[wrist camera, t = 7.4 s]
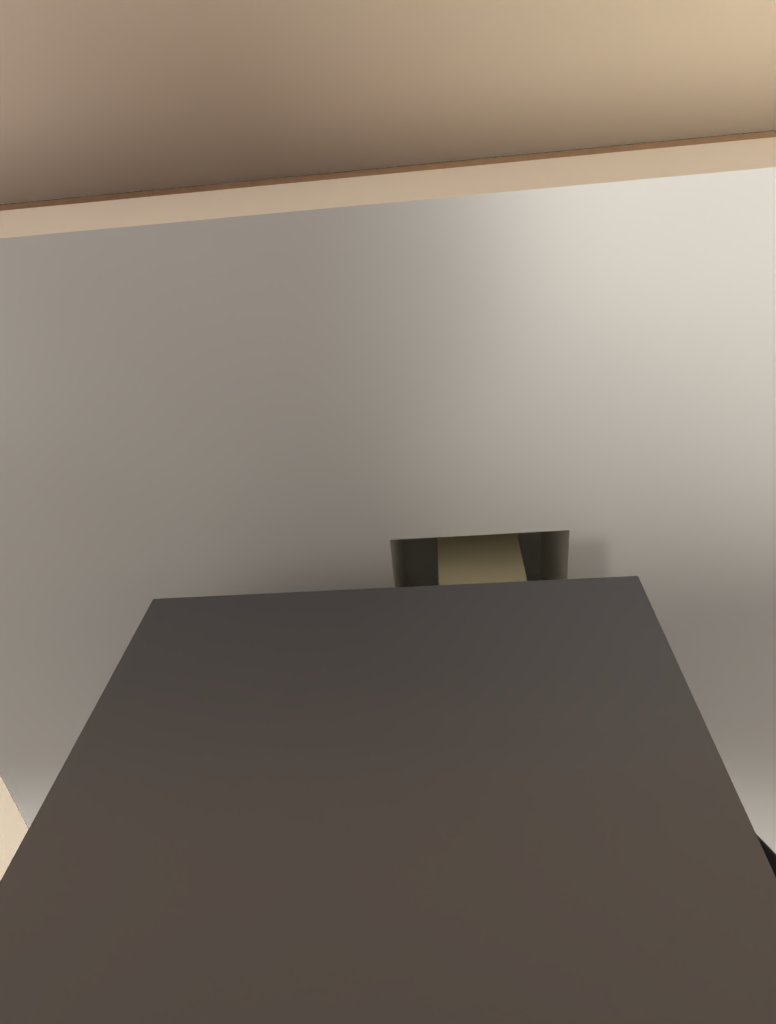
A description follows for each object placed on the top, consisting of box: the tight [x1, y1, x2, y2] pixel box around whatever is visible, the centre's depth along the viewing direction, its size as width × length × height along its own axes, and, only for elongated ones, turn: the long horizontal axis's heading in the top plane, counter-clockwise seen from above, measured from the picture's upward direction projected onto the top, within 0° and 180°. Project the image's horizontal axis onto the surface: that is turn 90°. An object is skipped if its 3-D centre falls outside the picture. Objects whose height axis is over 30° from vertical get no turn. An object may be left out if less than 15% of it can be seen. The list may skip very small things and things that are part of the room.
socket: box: [0, 137, 776, 853], centre depth 11 cm, size 12×12×3 cm
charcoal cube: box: [0, 533, 776, 1024], centre depth 7 cm, size 5×5×7 cm
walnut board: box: [0, 131, 776, 211], centre depth 14 cm, size 20×16×1 cm
